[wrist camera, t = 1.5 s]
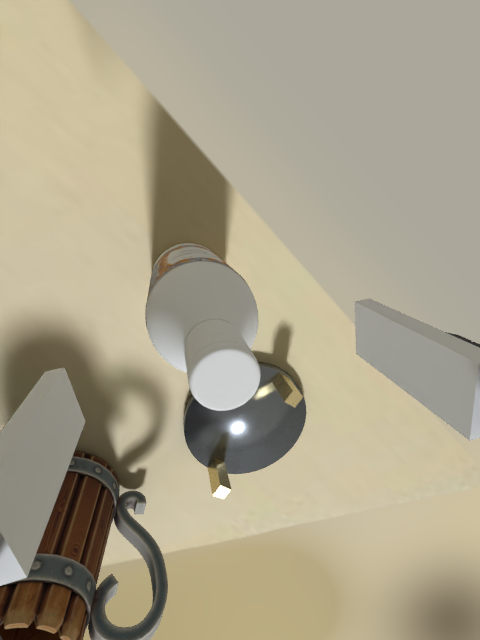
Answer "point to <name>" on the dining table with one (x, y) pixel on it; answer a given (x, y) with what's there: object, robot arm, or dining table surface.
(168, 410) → the dining table surface
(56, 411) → the robot arm
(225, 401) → the bath foam
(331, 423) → the dining table surface
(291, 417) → the disc
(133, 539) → the mug
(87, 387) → the dining table surface
